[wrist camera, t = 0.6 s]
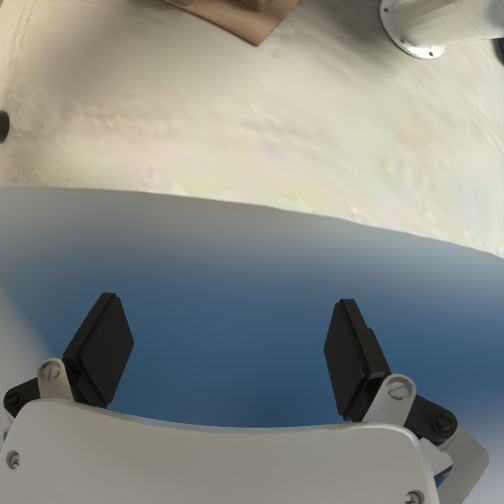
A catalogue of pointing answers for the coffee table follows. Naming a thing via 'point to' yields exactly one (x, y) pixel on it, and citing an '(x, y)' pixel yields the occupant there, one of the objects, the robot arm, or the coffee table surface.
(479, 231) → the coffee table surface
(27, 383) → the robot arm
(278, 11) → the button board
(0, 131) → the supplement bottle
